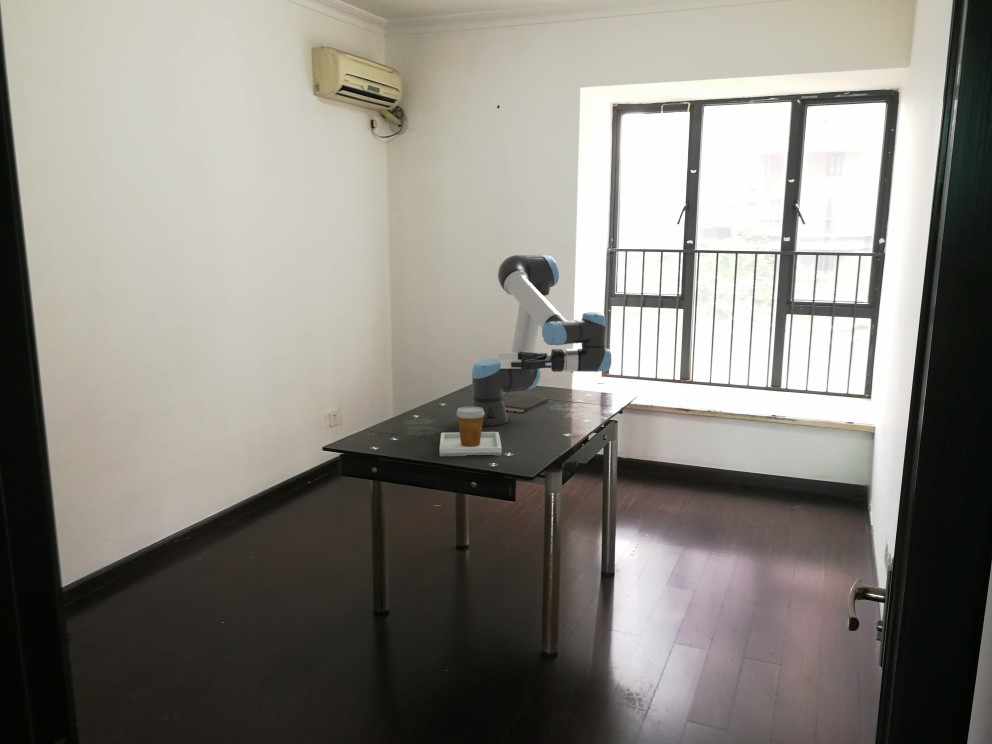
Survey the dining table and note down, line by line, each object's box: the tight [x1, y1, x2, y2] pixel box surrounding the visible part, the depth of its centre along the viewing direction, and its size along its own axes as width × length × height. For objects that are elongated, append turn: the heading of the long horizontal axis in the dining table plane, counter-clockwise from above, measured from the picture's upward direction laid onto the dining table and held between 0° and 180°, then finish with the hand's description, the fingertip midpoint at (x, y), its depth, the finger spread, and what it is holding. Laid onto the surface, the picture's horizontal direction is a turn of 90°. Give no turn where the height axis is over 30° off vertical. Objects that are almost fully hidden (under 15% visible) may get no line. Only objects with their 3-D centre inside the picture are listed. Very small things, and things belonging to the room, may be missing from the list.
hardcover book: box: [503, 394, 550, 414], centre depth 314 cm, size 16×23×2 cm
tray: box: [439, 431, 503, 457], centre depth 252 cm, size 20×20×2 cm
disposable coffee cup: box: [455, 405, 485, 447], centre depth 251 cm, size 10×10×12 cm
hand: (499, 360), depth 247 cm, fingers open, 13 cm apart
